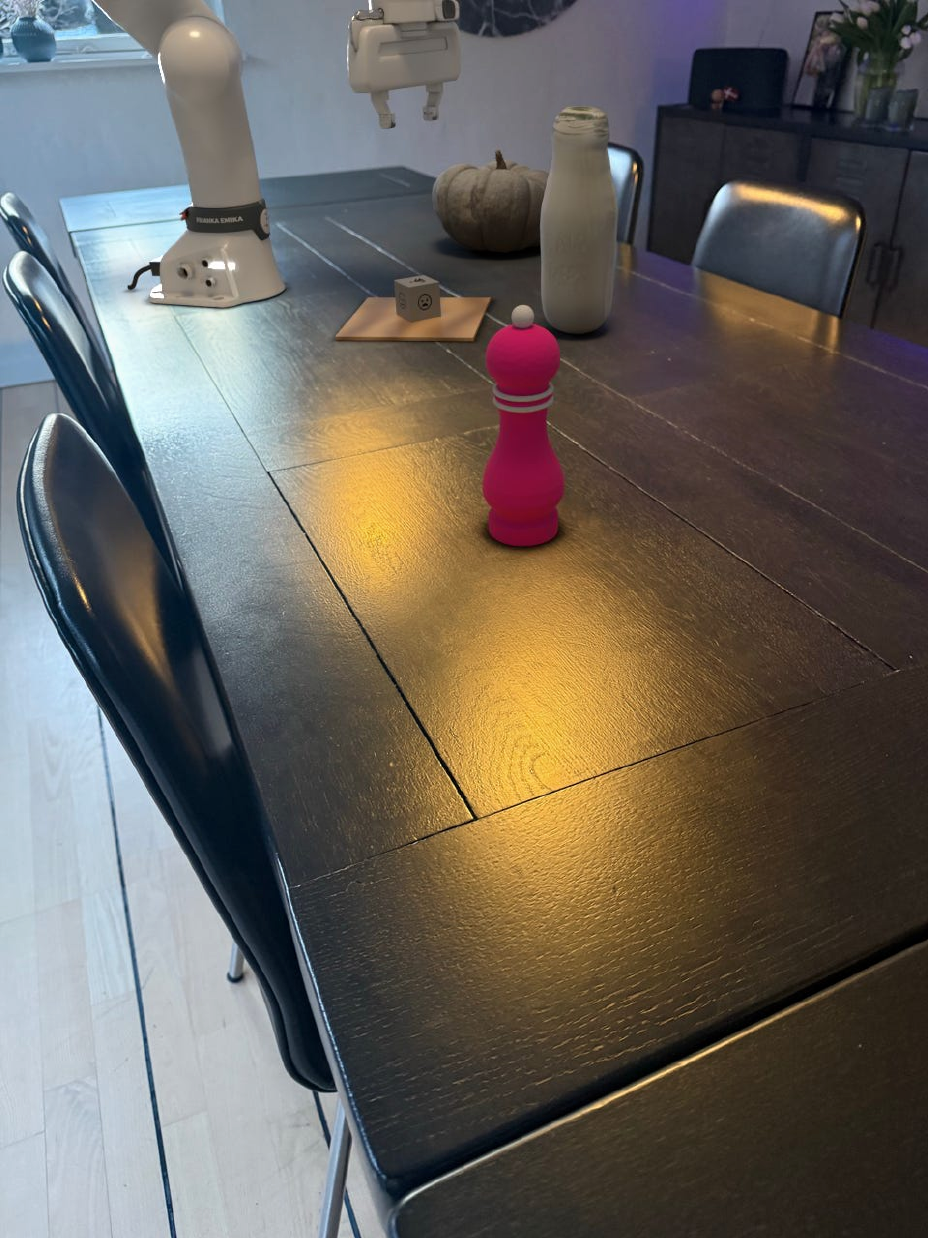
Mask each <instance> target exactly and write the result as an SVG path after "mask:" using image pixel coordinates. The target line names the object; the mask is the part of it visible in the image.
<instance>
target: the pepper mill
mask: <svg viewBox="0 0 928 1238" xmlns="http://www.w3.org/2000/svg"><path fill="white" fill-rule="evenodd" d="M534 320H535V313H534V311H533V309H532V308H531V307H530V306H529V305H525V304H521V305H517V306H516V307H515V308H514V309H513V311H512V313H511V322H512V324H509V325H506V326H504V327H502V328H500V329H499V330H498V331H496V333H494V335H493V336H492V337H491V339H490V340H489V342H488V345H487V348H486V353H485V366H486V370H487V372H488V374H489V376H490V377H491V379H492V380H494V382H495V383H494V385H493V386H492V393H493V397H492V403H493V405H494V407H496V408H498V415H499V426H498V427H499V428H498V429H499V430H498V434H497V438H496V441H495V445H494V447H493V450H492V452H491V454H490V456H489V459H488V460H487V463H486V466H485V469H484V473H483V476H482V487H481V489H482V490H481V491H482V495H483V498H484V500H485V501H486V503H487V504H488V505H489V506H490V507H491V508H490V509H489V512H488V531H489V534H490V536H491V537H492V538H493V539H495V540H496V541H497V542H499V543H502V544H504V545H508V546H512V547H533V546H538V545H542V544H545V543H547V542H549V541H550V540H551V539H553V538H554V537H555V536H556V535H557V533H558V532H559V531H558V530H559V511H558V509H557V508H556V507H557V505H559V503H560V502H561V501H562V499H563V496H564V494H565V480H564V479H565V476H564V472H563V469H562V466H561V463H560V462H559V459H558V457H557V455H556V452H555V451H554V449H553V446H552V444H551V441H550V437H549V433H548V422H547V420H548V419H547V417H548V410H549V407H550V406H551V405H552V404H553V403H554V396H553V392H554V385H553V383H552V382H551V381H552V379H553V378H554V377H555V376H556V374H557V373H558V371H559V368H560V364H561V349H560V347H559V344H558V341H557V339H556V337H555V336H554V335H553V334H552V333H551V331H549V330H548V329H547V328H546V327H543V326H541V325H539V324H535V323H534Z"/></svg>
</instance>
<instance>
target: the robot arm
mask: <svg viewBox="0 0 928 1238" xmlns="http://www.w3.org/2000/svg"><path fill="white" fill-rule="evenodd" d="M92 2H93V3H94V4H95V5H96V6H97V7H98V8H99V9H100V10H101V11H102V12H103V13H104V14H105V15H106V17H107V18H109V19H110V20H111V21H112V22H113V23H114V24H115V25H116V26H118V27H119V28H120V29H121V30H122V31H124V33H126V34H127V35H128V36H129V37H130V38H131V39H133V40H134V41H135V42H136V43H137V44H138V45H139V46H140V47H142V48H143V50H145V51H146V52H147V53H148V54H149V55H150V56H151V57H152V58H153V59H154V60H155V61H157V62H158V65H159V70H160V73H161V78H162V82H163V87H164V91H165V96H166V98H167V103H168V106H169V111H170V114H171V117H172V120H173V124H174V128H175V131H176V135H177V138H178V141H179V145H180V149H181V153H182V159H183V164H184V168H185V175H186V178H187V184H188V189H189V194H190V198H191V203H190V204H189V205H188V206H187V207H186V208H184V209H183V211H181V212H180V213H179V214H178V215H179V216H181V217H180V221H184V222H185V225H186V229H185V231H184V232H183V233H182V234H181V235H180V236H179V238H178V239H177V240H176V241H175V242H174V243H173V244H172V245H171V247H169V248H168V249H167V251H166V252H165V253H164V254H162V255H160V256H158V257H156V258H154V259H152V260H150V261H149V262H148V264H147V265H143V267H141V268H139V269H138V270H137V271H136V272H134V275H133V278H132V282H131V283H130V284H127V286H126V289H127V290H128V291H133V290H135V289H136V287H137V285H138V282H139V279H140V277H141V276H142V275H143V274H145V273H146V272H148V271H150V273H151V276H152V277H159V280H160V281H159V282H160V284H159V285H157V286H155V287H154V288H153V289H152V290H151V291H150V293H149V300H150V302H151V303H152V304H165V305H178V306H179V305H180V306H181V305H182V306H195V307H208V308H209V307H210V308H231V307H234V306H238V305H240V304H245V303H250V302H255V301H256V302H257V301H260V300H261V301H262V300H265V299H269V298H272V297H274V296H277V295H279V294H281V293H282V292H284V291H285V290H286V284H285V282H284V279H283V277H282V275H281V272H280V270H279V267H278V265H277V261H276V258H275V255H274V250H273V247H272V243H271V242H272V241H271V239H270V236H271V225H270V217H269V213H268V212H269V211H268V210H267V205H266V199H265V198H264V197H263V196H262V189H261V183H260V177H259V171H258V164H257V156H256V152H255V151H256V150H255V144H254V140H253V136H252V131H251V125H250V122H249V117H248V111H247V107H246V100H245V95H244V90H243V85H242V74H243V69H244V59H243V52H242V49H241V47H240V43H239V41H238V39H237V38H236V36H235V34H234V33H233V32H232V30H230V28H229V27H228V26H227V25H226V24H225V23H224V22H223V21H222V19H221V18H220V17H219V16H218V15H217V14H216V13H215V12H214V11H213V10H212V9H211V8H210V7H209V6H208V4H207V3H206V2H205V1H204V0H92ZM368 4H369V6H368V7H369V9H368V10H365V9H359V10H356V11H355V12H354V15H352V17H350V20H349V22H348V39H347V79H348V85H349V86H350V88H351V90H352V91H353V93H355V94H370V101H371V104H372V105H373V108H374V109H375V111H376V113H377V115H378V123H379V124H378V125H379V128H380V129H383V130H384V129H385V130H388V129H389V130H390V129H393V128H396V125H397V123H396V113H395V112H394V113H393V112H391V109H390V107H389V105H388V101H389V100H390V92H389V91H394V90H401V89H408V88H415V87H422V86H425V92H426V93H428V95H427V100H426V104H425V106H424V105H423V106H422V113H423V115H422V118H423V120H424V121H425V122H426V121H427V122H432V121H437V120H439V117H440V113H439V110H440V109H439V106H440V103H441V100H442V97H443V94H444V83H449V82H456V81H458V79H459V77H460V74H461V72H462V45H461V44H462V43H461V33H460V28H459V26H458V24H457V23H456V21H457V20H458V19H459V18H460V4H459V2H458V1H457V0H368Z"/></svg>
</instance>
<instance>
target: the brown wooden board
mask: <svg viewBox="0 0 928 1238" xmlns="http://www.w3.org/2000/svg"><path fill="white" fill-rule="evenodd" d="M491 301H492V297H491V296H489V297H488V296H487V297H486V296H485V297H484V296H483V297H480V296H479V297H478V296H477V297H470V296H467V297H466V296H465V297H464V296H463V297H460V296H459V297H458V296H457V297H455V296H454V297H451V296H450V297H449V296H448V297H446V296H445V297H443V296H440V307H441V317H436V318H431V319H426V320H421V321H416V322H409V321H408V320H406V319H404V318H402V317H401V316H399V315H397V311H396V299H395V297H393V296H390V297H389V296H386V297H385V296H382V297H381V296H379V297H378V296H377V297H376V296H375V297H374V296H372V297H371V296H369V297H367V298H366V299H365V300H364V302H363V303H362V304H361V305H360V306H359V308H358V309H357V310H356V311H355V313H354V314H352V316H351V317H350V318H349V320H348V321H346V323H345V324H344V326H343V327H342V328H341V329H340V330H339V332H338V333H337V334H336V335H335V341H356V342H358V341H359V342H361V341H362V342H366V341H369V342H371V341H373V342H377V341H378V342H474V341H475V339H476V336H477V334H478V332H479V329H480V327H481V325H482V322H483V320H484V318H485V316H486V313H487V311H488V308H489V306H490V305H491Z"/></svg>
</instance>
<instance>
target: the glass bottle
mask: <svg viewBox="0 0 928 1238" xmlns="http://www.w3.org/2000/svg"><path fill="white" fill-rule="evenodd" d="M609 125H610V123H609V117H608V115H607V114H606V112H604V111H603V110H602V109H599V108H597V107H594V106H589V105H583V106H582V105H581V106H580V105H579V106H567V107H565V108H564V109H563V110H561V111H560V112H559V113H557V115H556V117H555V119H554V121H553V124H552V128H551V136H550V142H551V162H550V169H549V177H548V180H547V185H546V190H545V194H544V199H543V203H542V209H541V222H540V232H541V245H540V256H541V259H540V262H541V263H540V265H541V268H540V269H541V270H540V273H541V275H540V277H541V278H540V293H541V304H542V305H541V306H542V310H543V314H544V317H545V319H546V321H547V323H548V324H549V325H550V326H551V327H553V328H554V329H556V330H557V331H560V332H563V333H567V334H573V335H583V334H587V333H592V332H593V331H595V330H597V329H598V328H599V329H600V327H601V326H602V325H603V324H604V322H605V321H607V319H608V317H609V315H610V313H611V309H612V304H613V295H614V280H615V265H616V250H617V238H618V236H617V233H618V216H619V215H618V214H619V212H618V211H619V209H618V207H619V206H618V200H617V199H618V198H617V195H616V194H617V193H616V187H615V184H614V179H613V176H612V170H611V161H610V156H609V155H610V154H609V148H608V144H609V141H610V126H609Z"/></svg>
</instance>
